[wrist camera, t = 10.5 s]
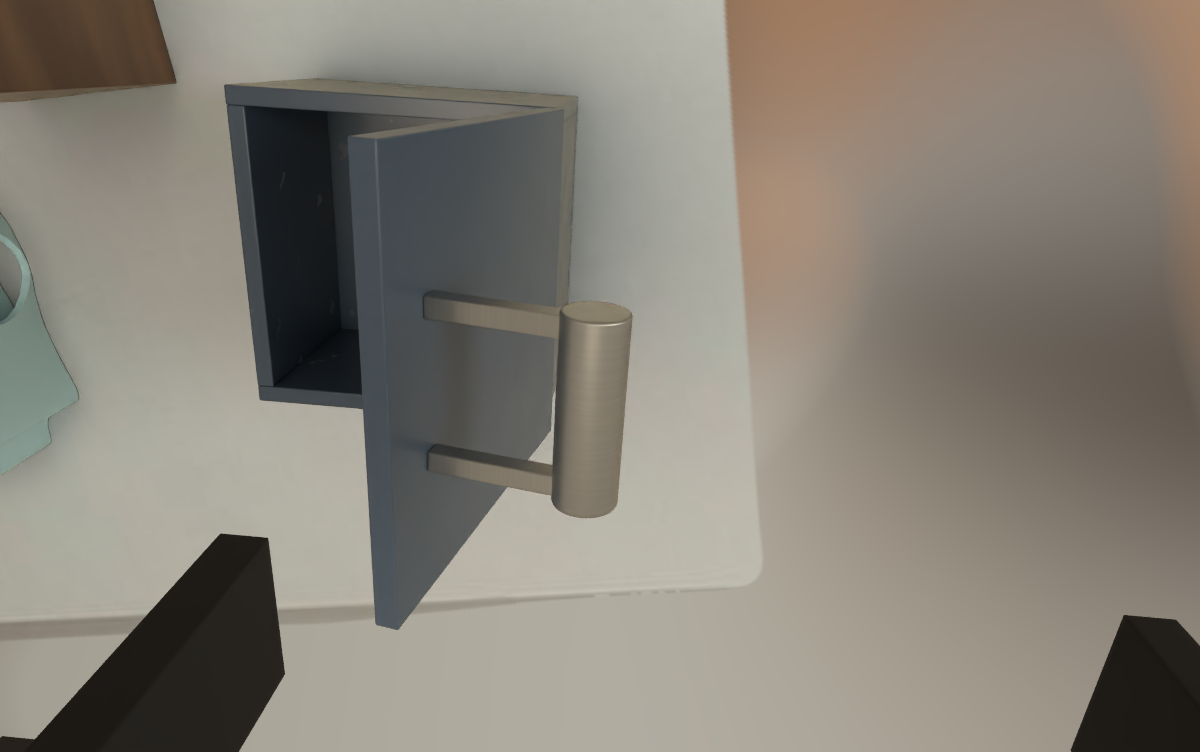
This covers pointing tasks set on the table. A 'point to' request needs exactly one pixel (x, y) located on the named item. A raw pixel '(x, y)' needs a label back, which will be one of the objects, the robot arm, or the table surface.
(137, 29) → the stand
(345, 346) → the grey box
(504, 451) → the box lid
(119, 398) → the table surface
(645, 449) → the table surface
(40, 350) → the squiggly pen holder
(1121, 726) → the robot arm
